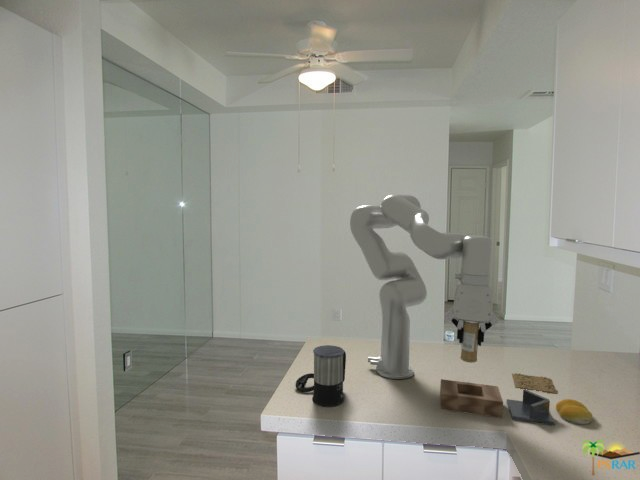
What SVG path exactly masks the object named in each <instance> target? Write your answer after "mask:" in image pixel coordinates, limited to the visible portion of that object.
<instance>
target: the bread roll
mask: <svg viewBox="0 0 640 480" xmlns="http://www.w3.org/2000/svg"><path fill="white" fill-rule="evenodd" d="M555 410H556V412H557V413H558V415H559V416H560V418H561V419H563V420H565V421H568V422H570V423H573V424H576V425H577V424H578V425H587V424H590V423H592V421H593V418H594V416H593V414H592V412H591V411H590V410H589V408H588V407H587V406H586V405H584V404H583V403H582V402H580V401H578V400H576V399H571V398H565V399H562V400H560V401H558V402H557V403H556V405H555Z"/></svg>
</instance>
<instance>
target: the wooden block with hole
mask: <svg viewBox="0 0 640 480" xmlns="http://www.w3.org/2000/svg"><path fill="white" fill-rule="evenodd" d="M439 388H440V392H439V395H440V397H439V399H440V400H439V401H440V402H439V403H440V405H439V406H440V407H439V408H440V410H443V411H451V412H458V413H465V414H472V415H478V416H485V417H486V416H487V417H493V418H498V417H499V419H502V418H503V414H504V413H503V410H504V401H503V397H502V394H501V392H500V391H501V390H500V388H499V386H497V385H489V384H483V383H482V384H480V383H473V382H465V381H459V380H450V379H442V378H441V379H440V387H439Z"/></svg>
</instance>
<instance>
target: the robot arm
mask: <svg viewBox="0 0 640 480" xmlns="http://www.w3.org/2000/svg"><path fill="white" fill-rule="evenodd" d="M429 221H430V216H429V214H428V212H427V211H426V210H424V209H422V207H421V203H420V201H419V199H418V198H416V197H415V196H413V195H410V194H390V195H387V196H386V197H385V198H383V199H382V201H381V203H380V204H379V205H378V204H377V205H376V204H366V205H360V206H358V207H356V208H355V209H353V211H352V213H351V214H350V219H349V225H350V226H349V227H350V231H351V234H352V237H353V238H354V240H355V242H356V244H357V245H358V247H359V248H360V250H361V252H362V254H363V256H364V258H365V260H366V262H367V264H368V267H369V268H370V271H371V273H372V275H373V277H374V278H375V279H376V280H378V281H387V282H386V283H384V284H383V285H382V286H381V288H380V289H379V302H380V303H379V304H380V308H381V309H380V310H381V334H380V335H381V336H380V337H381V340H380V341H381V344H380V345H381V347H380V348H381V349H380V356H377V357H374V356H368V358H367V363H370V365H372V366H375V370H376V373H377V374H378V375H380V376H381V377H382V378H383V377H384V378H386V379H392V380H405V379H409V378H412V377H413V375H414V368H413V367H412V366H410V347H411V346H410V343H411V342H410V340H411V319H410V316H409V313H408V311H407V308H409V307H416V306H417V305H421V304H422V303H424V302H425V300H426V299H427V296H428V295H427V293H428V292H427V287H426V284H425V282H424V279H423V278H422V276H421V274H420V273H419V271H418V268H417V267H416V265H415V263H414V261H413V259H412V258H411V257H410V256H409V255H408V254H406V253H405V252H402V251H401V252H400V251H394V252H393V251H390V250H389V248H388V247H387V244H386V243H385V241H384V239H383V238H382V237H381V235H379V234H378V233H377V232H376V231H375V230H376V229H377V230H378V229H391V228H394V227H396V226H398V227H400V228H401V229H403V230H404V231H405V232H407V233H408V234H409V237H410V238H411V241H412V243H413V244H414V245H415V246H416V248H418V249H420V250H421V251H422V252H424V253H425V254H426V255H428V256H429V257H431V258H433V259H436V260H440V261H441V260H448V259H449V260H450V259H460V258H461V267H460V273H459V274H458V273H457V274H456V273H455V274H454V279H455V280H458V282H457V285H456V288H455V294H454V299H453V305H452V306H451V308H450V309H449V310H448V311H447V312H446V313H445V317H446V319H448V320H449V321H450V322H451V323H452V324H453V325H454V326H455V327H456V329H457V333H456V340H458V341H459V344H462V340H463V322H464V320H465V321H474V322H479V332H478V347H479V346H481V347H482V343H484V340H485V333H486V332H487V330H489V329H490V328H492V326H496V325H498V324H499V323H500V320H499V318H498V316H497V315H496V314H495V312H494V310H493V307H494V306H493V303H494V301H493V297H494V296H493V289H492V286H491V285H490V276H491V275H490V274H491V263H492V262H491V261H492V249H493V241H492V240H493V239H492V238H490V237H488V236H485V235H472V234H468V233H464V232H459V231H458V232H439V231H438V230H436V229H434V228H433V227H431V226H430V225H429ZM374 229H375V230H374Z"/></svg>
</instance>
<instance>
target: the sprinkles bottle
mask: <svg viewBox="0 0 640 480" xmlns="http://www.w3.org/2000/svg"><path fill="white" fill-rule="evenodd" d="M462 328H463V340H462V343H461V345H460V346H461V351H460V359H461V361H463V362H465V363H469V364H470V363H471V364H472V363H476V362H477V361H478V349H479V348H478V347H479V345H478V332H479V328H480V322H474V321H465V320H464V322H463V325H462Z"/></svg>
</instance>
